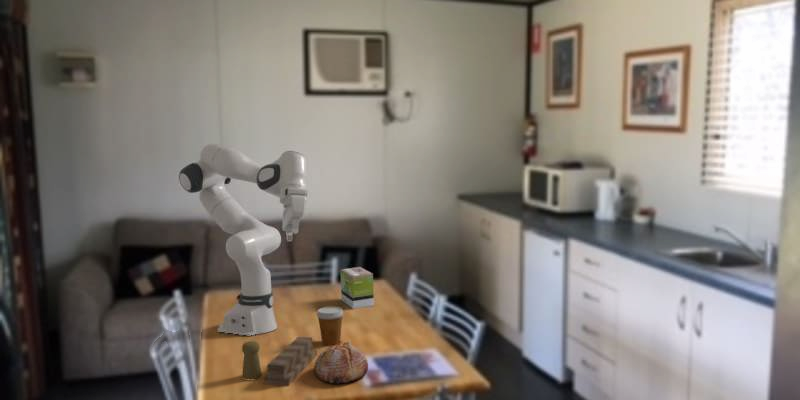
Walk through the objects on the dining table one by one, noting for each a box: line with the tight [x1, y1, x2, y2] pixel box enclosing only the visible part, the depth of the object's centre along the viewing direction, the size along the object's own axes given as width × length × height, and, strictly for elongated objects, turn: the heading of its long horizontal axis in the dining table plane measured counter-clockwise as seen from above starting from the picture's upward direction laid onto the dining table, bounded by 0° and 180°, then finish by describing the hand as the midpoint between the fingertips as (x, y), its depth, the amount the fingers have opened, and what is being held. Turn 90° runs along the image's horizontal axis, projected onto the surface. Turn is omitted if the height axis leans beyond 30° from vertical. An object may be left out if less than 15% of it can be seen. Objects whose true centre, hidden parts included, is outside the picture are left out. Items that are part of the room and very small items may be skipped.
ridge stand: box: [263, 336, 318, 386], centre depth 205 cm, size 26×8×6 cm, turn 169°
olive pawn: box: [241, 340, 263, 381], centre depth 199 cm, size 6×6×11 cm
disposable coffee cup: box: [316, 306, 344, 346], centre depth 229 cm, size 10×10×12 cm
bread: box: [313, 340, 369, 385], centre depth 200 cm, size 16×20×10 cm
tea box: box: [339, 266, 375, 310], centre depth 280 cm, size 15×10×15 cm, turn 25°
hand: (292, 237), depth 211 cm, fingers open, 8 cm apart
